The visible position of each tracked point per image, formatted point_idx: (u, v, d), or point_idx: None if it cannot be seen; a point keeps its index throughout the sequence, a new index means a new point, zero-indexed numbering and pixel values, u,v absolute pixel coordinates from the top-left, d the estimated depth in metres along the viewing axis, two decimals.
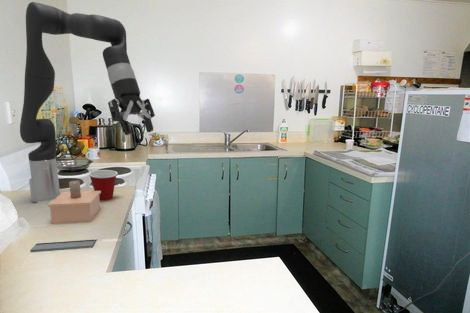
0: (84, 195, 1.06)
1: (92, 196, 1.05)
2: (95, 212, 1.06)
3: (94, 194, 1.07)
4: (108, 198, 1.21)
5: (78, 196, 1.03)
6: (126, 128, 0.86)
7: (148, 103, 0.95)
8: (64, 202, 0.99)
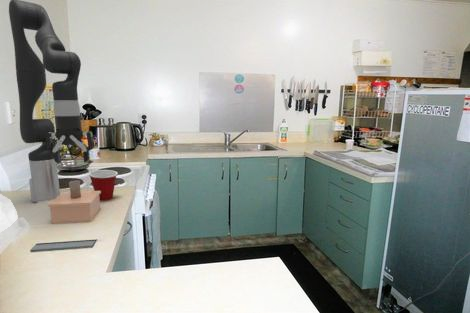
0: (84, 195, 1.06)
1: (92, 196, 1.05)
2: (95, 212, 1.06)
3: (94, 194, 1.07)
4: (108, 198, 1.21)
5: (78, 196, 1.03)
6: (55, 158, 1.00)
7: (87, 136, 1.00)
8: (64, 202, 0.99)
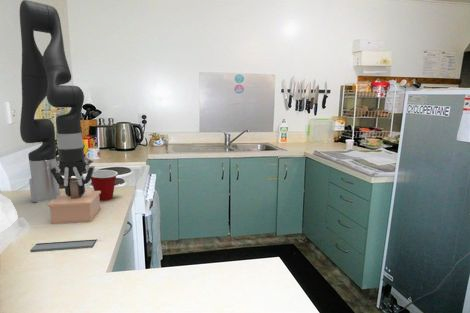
0: (84, 195, 1.06)
1: (92, 196, 1.05)
2: (95, 212, 1.06)
3: (94, 194, 1.07)
4: (108, 198, 1.21)
5: (78, 196, 1.03)
6: (66, 192, 1.02)
7: (88, 171, 1.02)
8: (64, 202, 0.99)
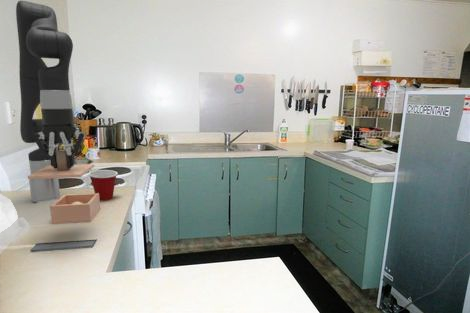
0: (74, 168, 0.88)
1: (83, 169, 0.87)
2: (95, 212, 1.06)
3: (86, 167, 0.89)
4: (108, 198, 1.21)
5: (66, 168, 0.86)
6: (52, 163, 0.85)
7: (79, 138, 0.84)
8: (49, 174, 0.81)
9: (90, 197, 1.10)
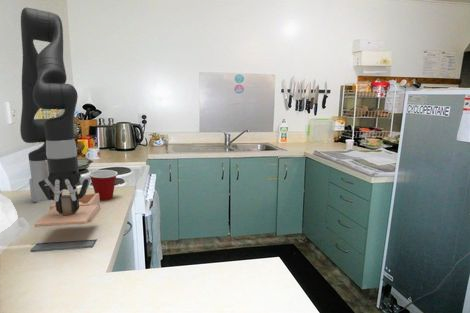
0: (78, 211, 0.91)
1: (88, 212, 0.90)
2: (95, 212, 1.06)
3: (90, 210, 0.92)
4: (108, 198, 1.21)
5: (71, 213, 0.88)
6: (57, 208, 0.87)
7: (83, 184, 0.87)
8: (54, 221, 0.84)
9: (90, 197, 1.10)
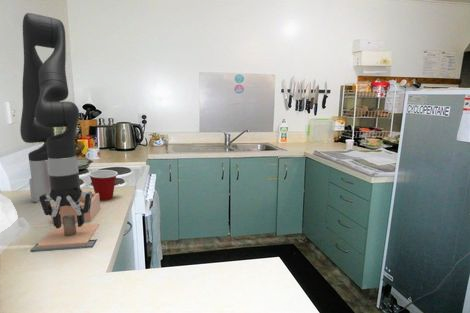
0: (80, 230, 0.92)
1: (89, 232, 0.91)
2: (95, 212, 1.06)
3: (92, 229, 0.93)
4: (108, 198, 1.21)
5: (73, 233, 0.89)
6: (54, 223, 0.88)
7: (86, 198, 0.88)
8: (56, 242, 0.85)
9: None
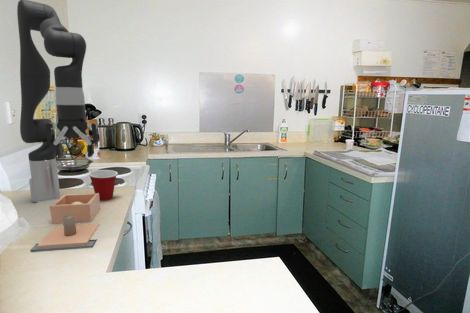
0: (80, 230, 0.92)
1: (89, 232, 0.91)
2: (95, 212, 1.06)
3: (92, 229, 0.93)
4: (108, 198, 1.21)
5: (73, 233, 0.89)
6: (56, 152, 0.90)
7: (92, 128, 0.90)
8: (56, 242, 0.85)
9: (90, 197, 1.10)
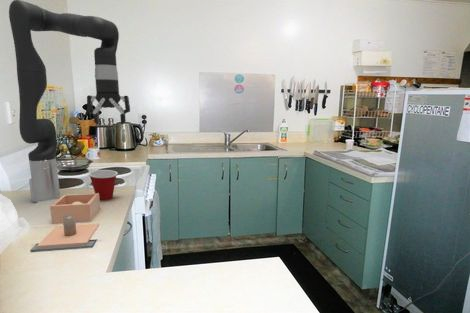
0: (80, 230, 0.92)
1: (89, 232, 0.91)
2: (95, 212, 1.06)
3: (92, 229, 0.93)
4: (108, 198, 1.21)
5: (73, 233, 0.89)
6: (95, 120, 1.08)
7: (125, 100, 1.08)
8: (56, 242, 0.85)
9: (90, 197, 1.10)
